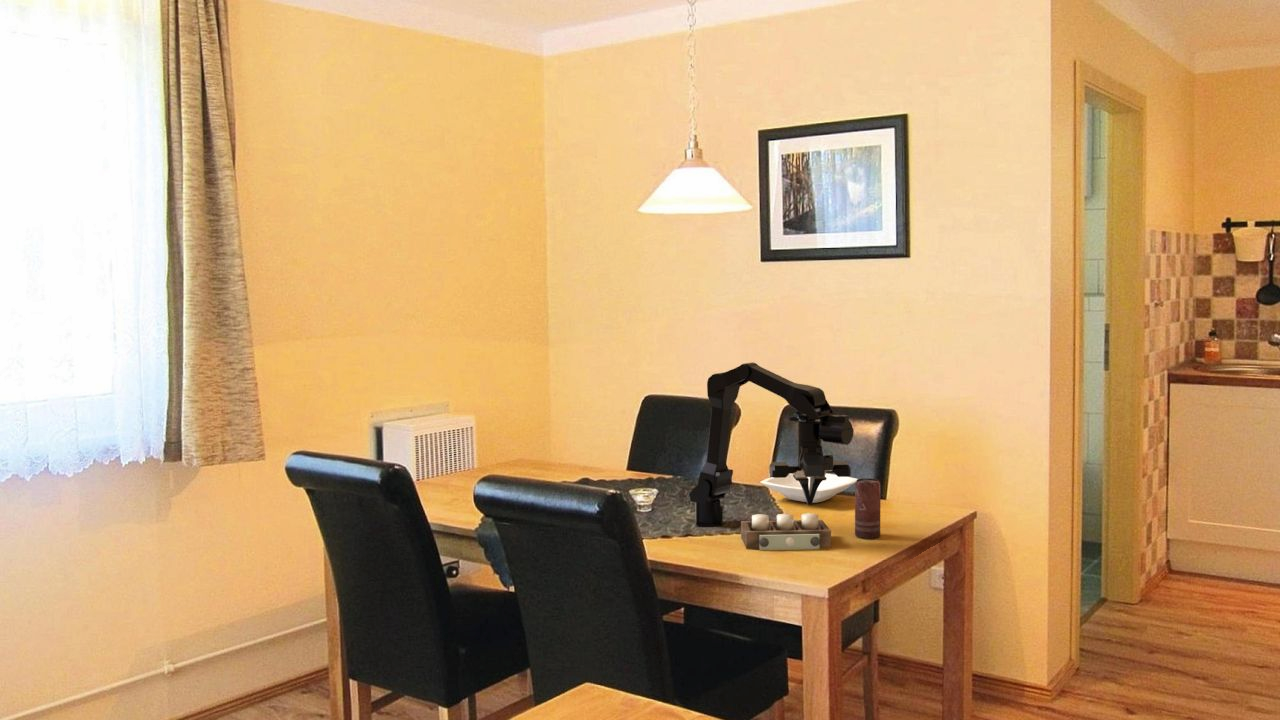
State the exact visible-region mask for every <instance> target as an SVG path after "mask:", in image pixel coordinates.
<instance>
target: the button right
mask: <svg viewBox="0 0 1280 720" xmlns="http://www.w3.org/2000/svg"><path fill="white" fill-rule="evenodd" d="M801 520H802V528H803V529H809V530H813V529H818V520H819V514H817V513H813V512H812V513H808V512H807V513H802V514H801Z"/></svg>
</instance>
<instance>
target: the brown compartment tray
mask: <svg viewBox="0 0 1280 720" xmlns="http://www.w3.org/2000/svg"><path fill="white" fill-rule="evenodd" d="M789 534H819V540H820V543H819V549H820V548H823V549H824V548H825V547H826V548H832V530H831V529H830V528H829V526H828V525H827V524H826V522H825V521H824V520H823V519H818V529H813V530H809V529H803V528H802V519H800V520H799V519H795V520H794V528H793V529H791V530H780V529H777V520H769V529H768V530H753V529H752V520H744V521H743V520H742V521H740V535H741V536H740V537H741V540H742V543H743V544H744V547H745V549H746V550H754V549H755V550H758V549H759V550H760V543H759V541H760V535H789Z"/></svg>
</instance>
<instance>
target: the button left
mask: <svg viewBox="0 0 1280 720" xmlns="http://www.w3.org/2000/svg"><path fill="white" fill-rule="evenodd" d="M751 521H752V529H753V530H768V529H769V521H770V519H769V515H767V514H764V513H763V514H761V513H758V514H757V513H756V514H752V515H751Z"/></svg>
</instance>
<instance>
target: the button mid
mask: <svg viewBox="0 0 1280 720" xmlns="http://www.w3.org/2000/svg"><path fill="white" fill-rule="evenodd" d="M794 517H795V516H794V514H791V513H779V514H776V521H777V529H780V530H791V529H793V528H794Z"/></svg>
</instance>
